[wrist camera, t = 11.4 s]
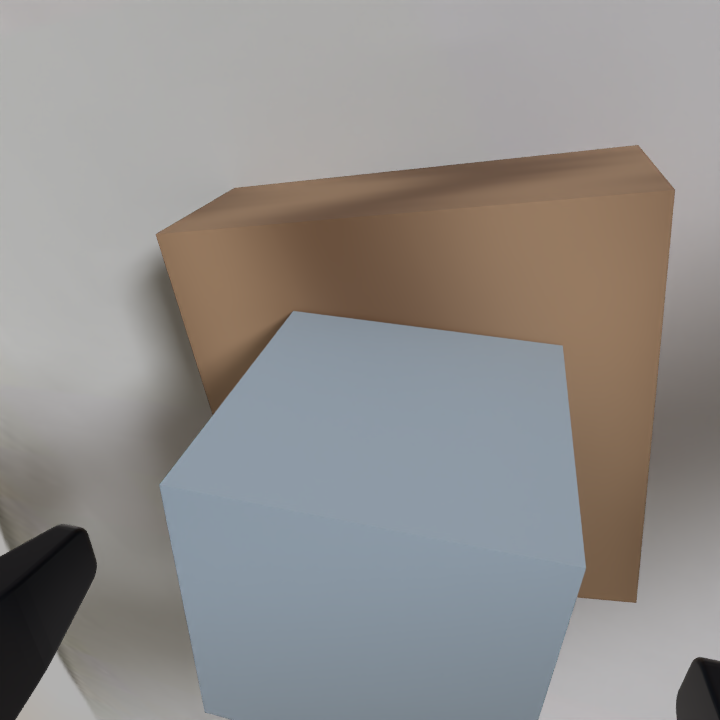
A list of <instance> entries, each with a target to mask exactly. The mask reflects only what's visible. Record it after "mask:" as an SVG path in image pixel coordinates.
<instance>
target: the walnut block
mask: <svg viewBox="0 0 720 720" xmlns="http://www.w3.org/2000/svg"><path fill="white" fill-rule="evenodd" d="M674 195H675V189H674V188H673V187H672V186H671V184H670V183H669V182H668V181H667V180H666V178H665V177H664V176H663V175H662V173H661V172H660V171H659V170H658V169H657V167H656V166H655V165H654V164H653V163H652V161H651V160H650V159H649V158H648V156H647V155H646V154H645V153H644V152H643V150H642V149H641V148H640V147H639V146H638V145H635V146H626V147H616V148H607V149H597V150H588V151H579V152H569V153H560V154H550V155H541V156H532V157H522V158H513V159H503V160H494V161H485V162H475V163H466V164H456V165H447V166H438V167H428V168H419V169H409V170H400V171H391V172H381V173H372V174H363V175H353V176H344V177H334V178H325V179H316V180H306V181H297V182H287V183H278V184H269V185H259V186H250V187H240V188H234V189H232V190H230V191H229V192H227V193H225V194H223V195H222V196H220V197H218V198H217V199H215V200H213V201H212V202H210V203H208V204H206V205H205V206H203V207H201V208H200V209H198V210H196V211H194V212H193V213H191V214H189V215H188V216H186V217H184V218H183V219H181V220H179V221H177V222H176V223H174V224H172V225H171V226H169V227H167V228H165V229H164V230H162V231H160V232H159V233H157V234H156V237H157V240H158V243H159V246H160V249H161V252H162V256H163V259H164V262H165V265H166V268H167V271H168V275H169V278H170V281H171V284H172V287H173V290H174V294H175V297H176V300H177V303H178V306H179V309H180V313H181V316H182V319H183V322H184V325H185V328H186V332H187V335H188V338H189V341H190V344H191V347H192V351H193V354H194V357H195V360H196V363H197V366H198V370H199V373H200V376H201V379H202V382H203V385H204V389H205V392H206V395H207V398H208V401H209V404H210V408H211V411H212V414H213V415H214V413H215V412H216V411H217V409H218V408H219V407H220V405H221V404H222V403H223V402H224V400H225V399H226V398H227V396H228V395H229V394H230V392H231V391H232V390H233V389H234V387H235V386H236V385H237V383H238V382H239V381H240V379H241V378H242V377H243V376H244V374H245V373H246V372H247V370H248V369H249V368H250V366H251V365H252V364H253V363H254V361H255V360H256V359H257V357H258V356H259V355H260V353H261V352H262V351H263V350H264V348H265V347H266V346H267V344H268V343H269V342H270V341H271V339H272V338H273V337H274V335H275V334H276V333H277V331H278V330H279V329H280V328H281V326H282V325H283V324H284V322H285V321H286V320H287V318H288V317H289V316H290V315H291V313H292V312H293V311H297V312H305V313H313V314H321V315H328V316H336V317H344V318H352V319H360V320H367V321H375V322H383V323H391V324H398V325H406V326H414V327H422V328H429V329H437V330H445V331H453V332H461V333H468V334H476V335H484V336H492V337H499V338H507V339H515V340H523V341H531V342H538V343H546V344H554V345H562V346H563V353H564V362H565V372H566V382H567V391H568V401H569V410H570V420H571V429H572V439H573V449H574V458H575V468H576V477H577V487H578V496H579V506H580V515H581V525H582V535H583V544H584V554H585V563H586V570H585V573H584V576H583V579H582V583H581V586H580V589H579V592H578V595H577V597H579V598H590V599H601V600H611V601H622V602H633V603H636V600H637V589H638V578H639V568H640V557H641V546H642V536H643V525H644V514H645V504H646V493H647V483H648V472H649V461H650V451H651V440H652V429H653V419H654V408H655V397H656V387H657V376H658V365H659V355H660V344H661V333H662V323H663V312H664V301H665V291H666V280H667V269H668V259H669V248H670V238H671V227H672V216H673V206H674Z"/></svg>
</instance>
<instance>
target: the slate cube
mask: <svg viewBox="0 0 720 720" xmlns="http://www.w3.org/2000/svg"><path fill="white" fill-rule="evenodd" d="M159 486H160V491H161V496H162V501H163V506H164V511H165V516H166V521H167V526H168V531H169V536H170V541H171V546H172V551H173V556H174V561H175V566H176V571H177V576H178V581H179V586H180V591H181V596H182V601H183V606H184V611H185V615H186V620H187V625H188V630H189V635H190V640H191V645H192V650H193V655H194V660H195V665H196V670H197V675H198V680H199V685H200V690H201V695H202V700H203V705H204V710H205V713H209V714H213V715H216V716H220V717H224V718H228V719H231V720H538V719H539V715H540V712H541V709H542V706H543V703H544V700H545V696H546V693H547V690H548V687H549V684H550V681H551V678H552V674H553V671H554V668H555V665H556V662H557V659H558V655H559V652H560V649H561V646H562V643H563V640H564V636H565V633H566V630H567V627H568V624H569V621H570V617H571V614H572V611H573V608H574V605H575V602H576V598H577V595H578V592H579V589H580V586H581V583H582V579H583V576H584V573H585V570H586V563H585V554H584V544H583V535H582V525H581V515H580V506H579V496H578V487H577V477H576V468H575V458H574V449H573V439H572V429H571V420H570V410H569V401H568V391H567V382H566V372H565V362H564V353H563V346H562V345H554V344H546V343H538V342H531V341H523V340H515V339H507V338H499V337H492V336H484V335H476V334H468V333H461V332H453V331H445V330H437V329H429V328H422V327H414V326H406V325H398V324H391V323H383V322H375V321H367V320H360V319H352V318H344V317H336V316H328V315H321V314H313V313H305V312H297V311H293V312H292V313H291V315H290V316H289V317H288V318H287V320H286V321H285V322H284V324H283V325H282V326H281V328H280V329H279V330H278V331H277V333H276V334H275V335H274V337H273V338H272V339H271V341H270V342H269V343H268V344H267V346H266V347H265V348H264V350H263V351H262V352H261V353H260V355H259V356H258V357H257V359H256V360H255V361H254V363H253V364H252V365H251V366H250V368H249V369H248V370H247V372H246V373H245V374H244V376H243V377H242V378H241V379H240V381H239V382H238V383H237V385H236V386H235V387H234V389H233V390H232V391H231V392H230V394H229V395H228V396H227V398H226V399H225V400H224V402H223V403H222V404H221V405H220V407H219V408H218V409H217V411H216V412H215V413H214V415H213V416H212V417H211V418H210V420H209V421H208V422H207V424H206V425H205V426H204V427H203V429H202V430H201V431H200V433H199V434H198V435H197V437H196V438H195V439H194V440H193V442H192V443H191V444H190V446H189V447H188V448H187V450H186V451H185V452H184V453H183V455H182V456H181V457H180V459H179V460H178V461H177V463H176V464H175V465H174V466H173V468H172V469H171V470H170V472H169V473H168V474H167V476H166V477H165V478H164V479H163V481H162V482H161V483H160V485H159Z"/></svg>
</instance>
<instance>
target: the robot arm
mask: <svg viewBox="0 0 720 720" xmlns="http://www.w3.org/2000/svg"><path fill="white" fill-rule="evenodd" d="M96 569H97V562H96V558H95V555H94V552H93V548H92V545H91V542H90V539H89V535H88V533H87V531H86V530H85V529H83V528H81V527H76V526H71V525H66V524H61V525H57V526H55V527H53V528H51V529H49V530H47V531H46V532H44V533H42V534H40V535H38V536H37V537H35V538H33V539H31V540H29V541H27V542H26V543H24V544H22V545H20V546H18V547H16V548H15V549H13V550H11V551H9V552H7V553H6V554H4V555H2V556H0V720H15V719H16V718H17V716H18V715H19V713H20V711H21V710H22V708H23V707H24V705H25V704H26V702H27V700H28V699H29V697H30V696H31V694H32V692H33V691H34V689H35V688H36V686H37V685H38V683H39V681H40V680H41V678H42V676H43V674H44V673H45V671H46V670H47V668H48V666H49V664H50V663H51V661H52V659H53V657H54V655H55V653H56V651H57V650H58V648H59V646H60V644H61V642H62V640H63V638H64V636H65V634H66V632H67V630H68V628H69V626H70V624H71V622H72V620H73V618H74V616H75V614H76V612H77V610H78V609H79V607H80V605H81V603H82V601H83V599H84V597H85V595H86V593H87V591H88V589H89V587H90V585H91V583H92V581H93V579H94V577H95V574H96ZM676 715H677V720H720V661H717V660H712V659H708V658H703V657H698V658H696V659H694V660H693V662H692V663H691V666H690V668H689V670H688V672H687V674H686V676H685V678H684V680H683V682H682V684H681V687H680V689H679V691H678V694H677V699H676Z"/></svg>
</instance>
